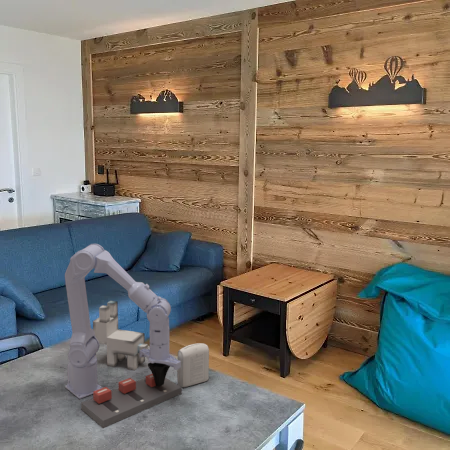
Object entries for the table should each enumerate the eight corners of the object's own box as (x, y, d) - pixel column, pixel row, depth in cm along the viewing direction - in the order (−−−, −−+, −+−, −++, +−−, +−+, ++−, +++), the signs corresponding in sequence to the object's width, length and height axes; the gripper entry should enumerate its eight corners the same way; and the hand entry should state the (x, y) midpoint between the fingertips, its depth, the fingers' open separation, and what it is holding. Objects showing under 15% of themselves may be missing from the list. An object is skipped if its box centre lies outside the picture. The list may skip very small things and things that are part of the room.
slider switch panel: (81, 409, 135) (81, 402, 134) (157, 378, 152) (157, 372, 152) (103, 427, 126) (103, 420, 126) (181, 393, 144) (181, 386, 143)
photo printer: (203, 375, 155) (204, 338, 153) (210, 380, 152) (211, 343, 150) (175, 383, 150) (175, 346, 148) (181, 389, 146) (181, 351, 144)
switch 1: (93, 399, 135) (93, 391, 135) (106, 394, 138) (105, 386, 138) (98, 403, 133) (98, 395, 133) (111, 398, 136) (111, 390, 135)
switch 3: (145, 383, 145) (145, 375, 144) (156, 379, 147) (156, 371, 147) (151, 387, 142) (151, 379, 142) (162, 382, 145) (162, 375, 145)
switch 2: (118, 389, 141) (118, 381, 140) (130, 385, 143) (130, 377, 143) (124, 393, 139) (123, 385, 138) (135, 389, 141) (135, 381, 141)
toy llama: (141, 371, 157) (140, 313, 154) (94, 363, 162) (92, 306, 159) (151, 362, 164) (150, 305, 161) (106, 354, 169) (104, 299, 166)
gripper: (131, 339, 141) (132, 383, 144) (169, 352, 133) (169, 398, 135) (148, 332, 147) (149, 374, 149) (185, 344, 139) (185, 388, 141)
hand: (159, 384), depth 143 cm, fingers closed
